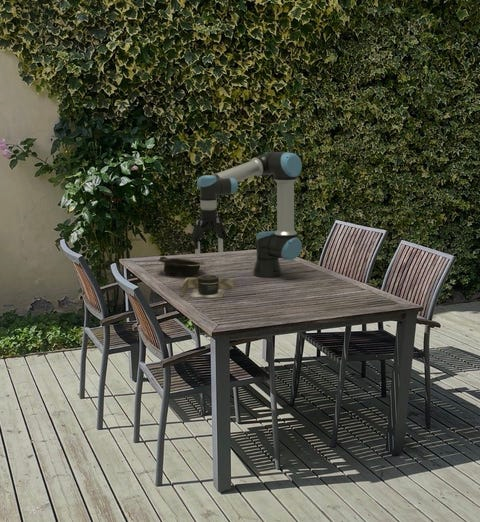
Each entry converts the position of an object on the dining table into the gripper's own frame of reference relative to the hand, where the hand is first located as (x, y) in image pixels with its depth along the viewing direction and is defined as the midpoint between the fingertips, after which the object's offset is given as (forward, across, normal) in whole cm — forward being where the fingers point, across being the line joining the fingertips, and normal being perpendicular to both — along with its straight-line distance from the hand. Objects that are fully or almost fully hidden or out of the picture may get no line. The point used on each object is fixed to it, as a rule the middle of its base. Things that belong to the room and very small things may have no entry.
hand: (209, 253), depth 349 cm
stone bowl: (+20, -16, -44) cm, 50 cm away
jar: (+19, +1, 0) cm, 19 cm away
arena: (+19, +1, -1) cm, 19 cm away
